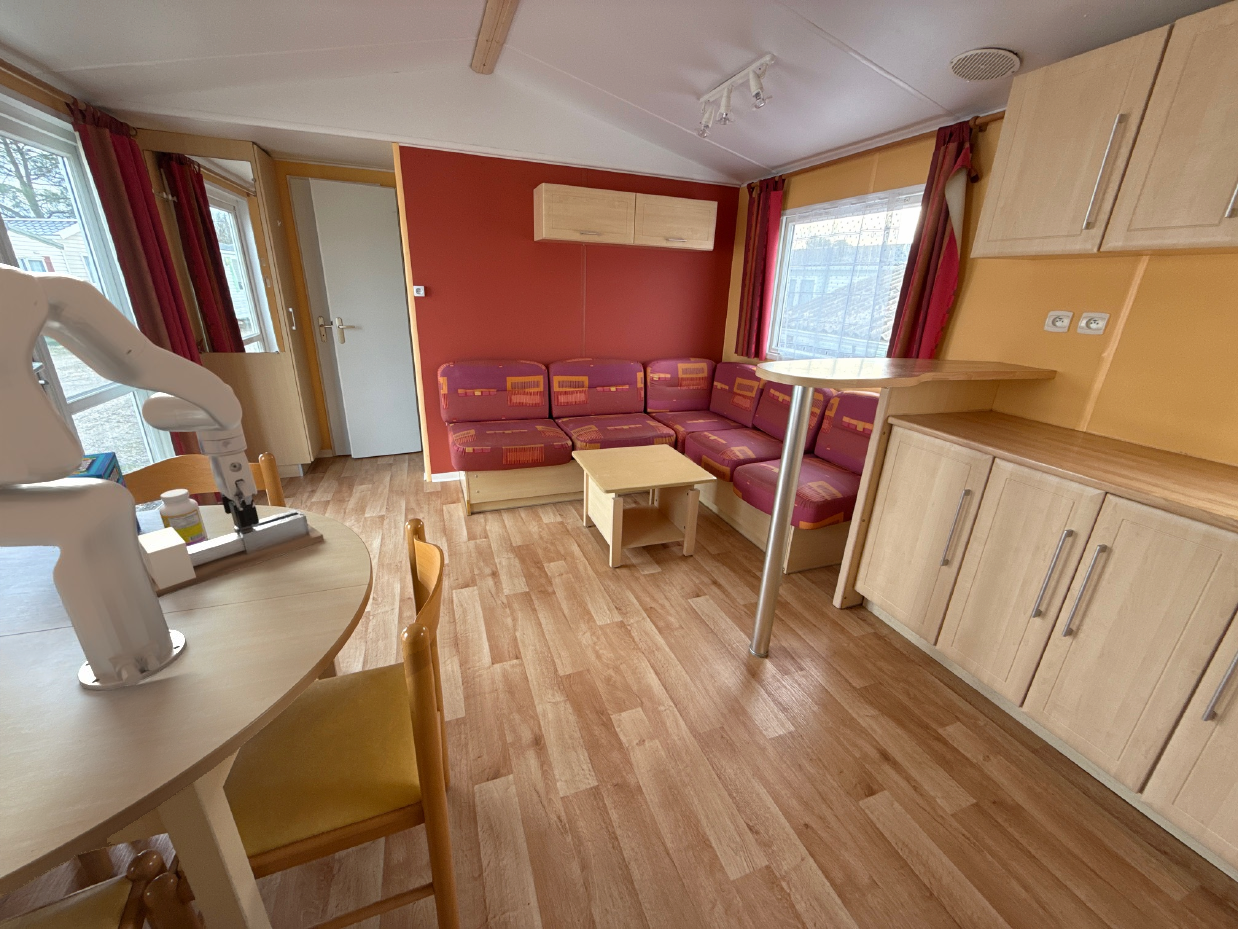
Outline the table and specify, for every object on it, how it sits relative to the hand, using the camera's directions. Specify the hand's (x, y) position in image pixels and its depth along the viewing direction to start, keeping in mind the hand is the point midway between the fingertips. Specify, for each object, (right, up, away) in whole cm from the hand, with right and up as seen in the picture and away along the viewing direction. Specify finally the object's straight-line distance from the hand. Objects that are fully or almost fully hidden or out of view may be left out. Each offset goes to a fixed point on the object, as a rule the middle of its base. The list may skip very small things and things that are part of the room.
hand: (242, 518), depth 107 cm
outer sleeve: (+3, -6, +7) cm, 9 cm away
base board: (-2, -9, +2) cm, 9 cm away
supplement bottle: (-17, -7, +7) cm, 20 cm away
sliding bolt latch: (-3, -8, -2) cm, 8 cm away
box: (-33, -7, +4) cm, 34 cm away
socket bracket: (-9, -11, -7) cm, 15 cm away
